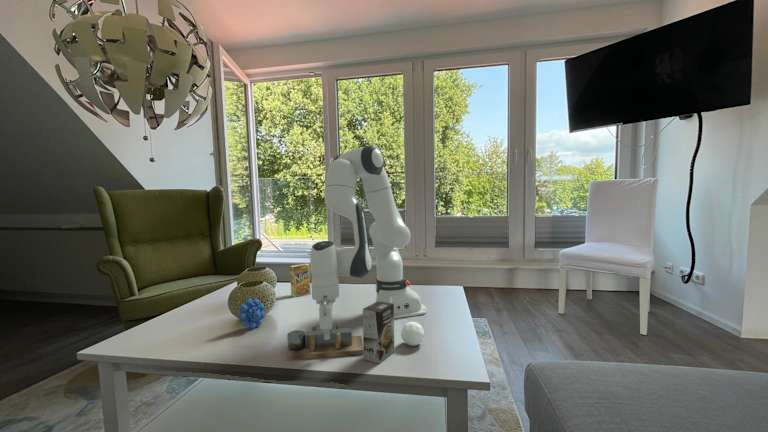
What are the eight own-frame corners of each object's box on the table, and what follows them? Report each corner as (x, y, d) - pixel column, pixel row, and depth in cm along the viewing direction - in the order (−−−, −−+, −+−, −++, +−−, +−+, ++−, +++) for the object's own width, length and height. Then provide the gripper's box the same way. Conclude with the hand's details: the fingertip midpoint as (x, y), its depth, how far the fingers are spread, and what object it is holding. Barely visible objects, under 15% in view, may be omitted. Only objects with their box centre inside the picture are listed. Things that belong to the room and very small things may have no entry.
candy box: (294, 297, 174) (292, 266, 172) (290, 295, 177) (289, 265, 176) (310, 294, 179) (309, 264, 177) (307, 292, 182) (306, 262, 181)
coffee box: (380, 364, 107) (379, 312, 106) (362, 359, 110) (361, 308, 109) (395, 351, 115) (394, 303, 113) (378, 347, 118) (377, 300, 117)
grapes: (247, 336, 129) (245, 304, 128) (235, 332, 133) (233, 301, 132) (272, 325, 139) (271, 295, 138) (261, 322, 142) (259, 293, 141)
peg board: (361, 339, 124) (360, 321, 124) (363, 354, 113) (362, 334, 113) (291, 344, 121) (290, 326, 121) (286, 360, 110) (285, 340, 110)
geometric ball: (419, 353, 119) (429, 339, 115) (397, 347, 118) (406, 332, 113) (418, 334, 125) (427, 320, 121) (397, 328, 124) (406, 314, 120)
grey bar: (351, 339, 121) (351, 326, 121) (352, 346, 116) (351, 333, 115) (289, 344, 119) (288, 330, 118) (286, 351, 113) (286, 338, 113)
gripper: (335, 301, 106) (337, 345, 107) (335, 282, 126) (337, 320, 127) (313, 302, 105) (316, 347, 106) (317, 283, 125) (319, 321, 126)
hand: (327, 332), depth 117 cm, fingers open, 8 cm apart
